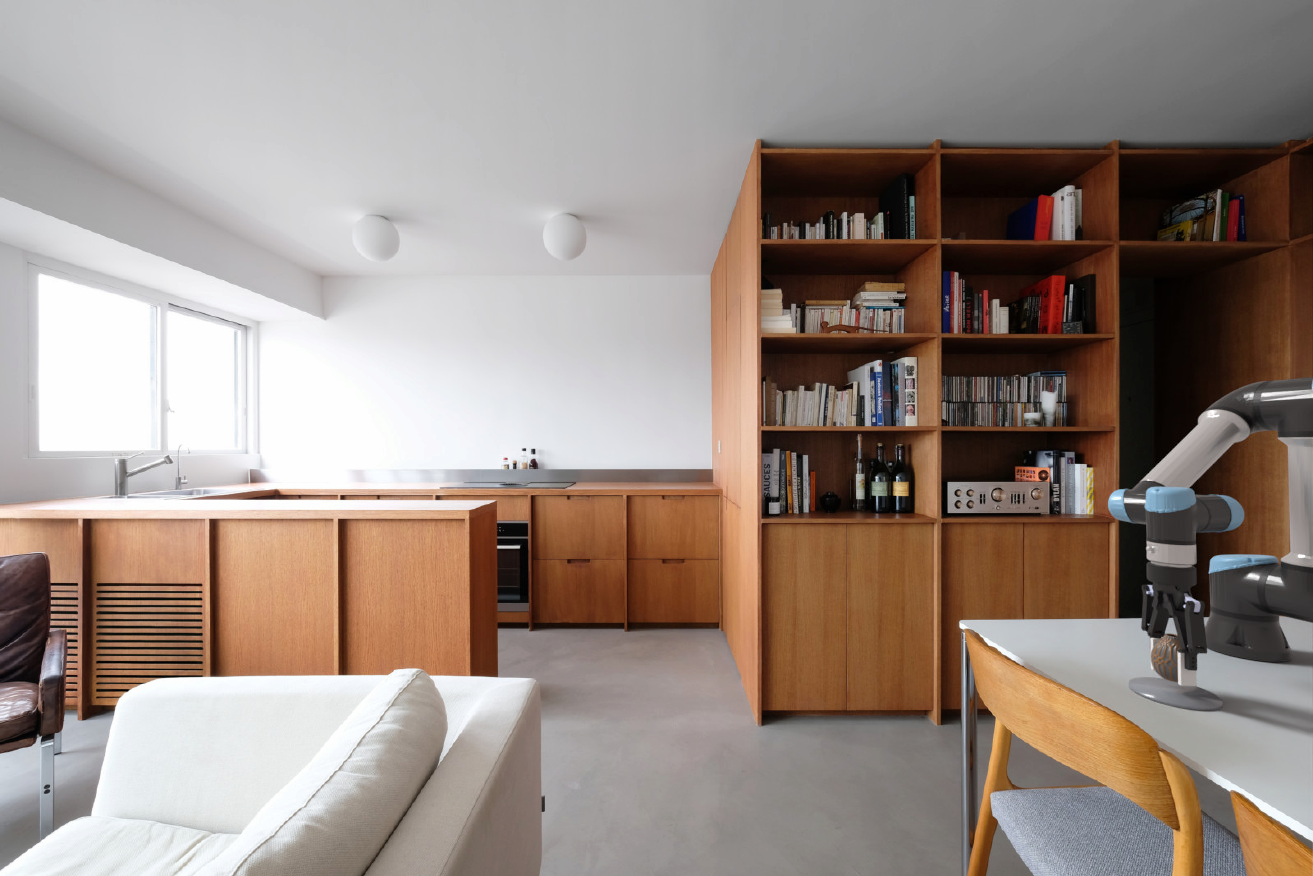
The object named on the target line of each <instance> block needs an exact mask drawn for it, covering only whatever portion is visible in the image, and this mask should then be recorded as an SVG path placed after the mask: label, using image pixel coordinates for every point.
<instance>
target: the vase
mask: <svg viewBox="0 0 1313 876" xmlns="http://www.w3.org/2000/svg"><path fill="white" fill-rule="evenodd" d="M1161 638H1162V639H1161V640H1160V641H1158V642H1157V643H1156V644H1155V645H1154V647H1153V649H1152V651H1151V650H1150V664H1151V663H1152V666H1153V668H1154V670H1153V671H1155V673H1156V674H1157V675H1159V677H1160V678H1163V679H1166V680H1169V681H1173V682H1178V651H1177V650H1181V647H1180V643H1179V639H1178V635H1177V633H1175V634H1174V633H1165V635H1164V637H1161ZM1187 647H1188V645H1187Z"/></svg>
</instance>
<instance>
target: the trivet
mask: <svg viewBox="0 0 1313 876" xmlns="http://www.w3.org/2000/svg"><path fill="white" fill-rule="evenodd" d="M1128 688H1129V689H1130V690H1131V691H1132V692H1133V693H1134V694H1137V695H1138V696H1141V697H1143V698H1145V699H1147V700H1150V701H1153V702H1157V703H1159V704H1162V705H1165V706H1170V707H1174V708H1178V709H1184V710H1192V711H1208V712H1209V711H1217V710H1219V709H1221V708H1222V707H1223V700H1222V699H1221V698H1220V697H1219V696H1218V695H1217V694H1215V693H1214V692H1211V691H1209V690H1207V689H1205V688H1202V687H1199V686H1181V685H1179V684H1178V682H1173V681H1169V680H1166V679H1164V678H1162V677H1154V676H1153V677H1149V676H1148V677H1147V676H1142V677H1140V676H1139V677H1134V678H1131V679H1129V681H1128Z"/></svg>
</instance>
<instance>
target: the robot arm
mask: <svg viewBox="0 0 1313 876" xmlns="http://www.w3.org/2000/svg"><path fill="white" fill-rule="evenodd" d="M1265 431H1266V432H1267V431H1269V432H1272V431H1273V432H1274V431H1277V439H1278V440H1279V441H1280V442H1282V443H1283V444H1285V445H1286V446H1287V462H1288V463H1287V469H1288V470H1287V471H1288V475H1287V476H1288V507H1289V544H1290V546H1289V547H1290V548H1289V551H1290V552H1289V553H1288V554H1286V555H1284V556H1282V557H1281V558H1280V560H1279V559H1278V557H1276V556H1275V555H1267V554H1238V553H1237V554H1219V555H1214V556H1213V557H1212V558H1211V559H1210V560H1209V570H1208V574H1209V601H1210V602H1209V603H1210V606H1209V607H1210V612H1209V616H1208V619H1207V621H1206V624H1205V617H1204V612H1205V609H1206V608H1205V607H1206V604H1205V602H1204V601H1203V600H1196V599H1194V598H1193V595H1192V592H1191V588H1192V587H1194V586H1196V585H1197V582H1198V580H1197V578H1198V576H1197V567H1195V566H1194V565H1196V564H1197V561H1198V559H1197V543H1196V542H1197V537H1196V536H1197V535H1196V534H1197V533H1198V534H1199V533H1222V532H1226V531H1233V530H1236V529H1237V528H1239V527H1240V526H1241V524H1243V522H1244V519H1245V510H1244V508H1243V506H1242V505H1241V503H1239V502H1238V500H1236V499H1235V498H1233V497H1232V496H1229V495H1224V494H1222V495H1221V494H1220V495H1219V494H1211V493H1210V494H1207V495H1206V494H1204V495H1203V494H1195V490H1193V488H1190V487H1192V486H1193V485H1194V484H1195V483H1196V481H1197V480H1199V479H1200V478H1201V477H1202V476H1203V475H1204V474H1205V473H1206V472H1207V470H1209V469H1210V468H1211V467H1212V466H1213V464H1215V463H1216V462H1217V461H1218V459H1220V458H1221V457H1222V456H1223V454H1225V453H1226V452H1227V450H1229V448H1230V447H1231V446H1232V445H1234V444H1235V443H1240V442H1242V441H1244V440H1246V439H1247V438H1248V437H1249V436H1250V435H1252V434H1255V433H1258V432H1265ZM1107 508H1108V511H1109V512H1110V514H1111V516H1112V517H1113V518H1114V519H1115V520H1118V521H1122V522H1128V523H1131V524H1141V525H1146V539H1145V540H1146V547H1145V550H1146V559H1147V560H1148V562H1147V563H1146V579H1147V580H1148V581H1149V582H1151V583H1152V584H1142V585H1141V591H1142V608H1141V609H1142V610H1141V611H1142V612H1141V624H1140V629H1141V630H1142V631H1144V632H1146V634H1147V636H1148V637H1149V649H1150V652H1151V651H1152V649H1153V647H1154V645H1155V644H1156V643H1157V642H1158V641H1160V640H1161V639H1162V638H1163V637H1164V635H1165V634H1166V630H1167V626H1168V623H1169V619H1170V617H1171V618H1172V620H1173V623H1174V627H1175V631H1176V635H1178V639H1179V643H1180V647H1181V650H1177V651H1178V684H1179V685H1181V686H1197V685H1198V683H1197V681H1198V680H1197V670H1198V655H1199V654H1205V655H1207V653H1208V649H1209V650H1211V651H1215V652H1217V653H1220V654H1223V655H1227V656H1232V657H1236V658H1241V659H1247V660H1253V661H1261V662H1271V663H1275V662H1278V663H1279V662H1280V663H1281V662H1282V663H1283V662H1288V661H1290V660H1292V648H1291V646H1290V645H1289V641H1288V639H1287V637H1286V635H1285V633H1284V631H1283V629H1282V627H1281V624H1280V617H1284V618H1289V619H1294V620H1298V621H1302V622H1306V623H1310V624H1311V623H1312V624H1313V376H1309V377H1300V378H1299V377H1298V378H1290V379H1289V378H1288V379H1287V378H1286V379H1278V380H1264V381H1257V382H1253V383H1249V384H1247V385H1244V386H1242V387H1239V388H1238V389H1235V390H1233V391H1231V392H1229V393H1228V394H1226V395H1224V396H1223V397H1221V398H1220V399H1218V400H1217V401H1215V402H1214V403H1212V404H1211V405H1210V406H1209V407H1208V408H1206V409H1205V410H1204V411H1203V412H1202V413H1201V414H1200V415H1199V416H1198V418H1197V425H1196V426H1195V427H1194V428H1193V429H1192V430H1191V431H1190V432H1189V433H1188V434H1187V435H1186V436H1185V437H1183V439H1181V441H1180V442H1179V443H1177V445H1176V446H1175V447H1174V448H1172V450H1171V451H1169V453H1168V454H1166V456H1165V457H1164V458H1162V459H1161V461H1159V463H1157V464H1156V465H1155V467H1153V468H1152V469H1151V470H1150V471H1149V473H1147V474H1146V475H1145V476H1144V477H1143V478H1142V479H1141V480H1140V481H1139V482H1138V483H1137V484H1136V485H1134V487H1133V488H1132V489H1129V488H1123V489H1122V488H1121V489H1117V490H1114V491H1113V492H1112V493H1110V496H1109V498H1108V500H1107ZM1187 646H1188V647H1187ZM1150 669H1151V670H1152V671H1155V670H1154V668H1153V666H1152V663H1151V662H1150ZM1197 687H1198V686H1197Z"/></svg>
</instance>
